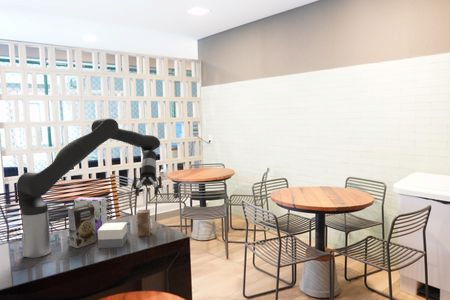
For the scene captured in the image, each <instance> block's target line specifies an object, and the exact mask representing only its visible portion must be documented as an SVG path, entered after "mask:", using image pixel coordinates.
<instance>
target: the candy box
mask: <svg viewBox="0 0 450 300" xmlns="http://www.w3.org/2000/svg"><path fill="white" fill-rule="evenodd" d="M85 205H88V206H93V207H94V213H95V231H96V235H98V231H97V230H98V229H99V228H100V227H101V226H102V225H103V224H104V223H108V213H107V198H106V197H87V196H85V197H83V196H79V197H77V198H75V199H73V208H76V207H80V206H85Z"/></svg>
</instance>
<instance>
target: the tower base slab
mask: <svg viewBox="0 0 450 300" xmlns="http://www.w3.org/2000/svg"><path fill="white" fill-rule="evenodd" d="M127 240H128V231H127V232H126V234H125V235H124V237H123V238H122V239H103V240H98V239H97V242H98V243H97V244H98V249H107V248H111V249H112V248H123V247H124V245H125V244H126V243H127Z"/></svg>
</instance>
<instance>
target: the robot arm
mask: <svg viewBox="0 0 450 300" xmlns="http://www.w3.org/2000/svg"><path fill="white" fill-rule="evenodd" d="M90 129H91V132H89V133H87V134H85V135H82V136H80V137H78V138H76V139H74V140H72V141H70V142H68V144H66V145H65V146H64V147H62V148H61V149H60V150H59V151H58V152H57V154H56V156H55V158H54V159H53V161H52V163H51V164H49V165H48V166H47V167H45V168H44V169H42V170H41V171H39V172H24V173H23V174H21V175H20V176H19V177H18V179H17V183H16V191H17V192H16V193H17V198H18V199H17V200H18V205H19V208H20V210H21V215H22V216H21V217H22V229H23V232H21V244H22V257H23V258H24V257H26V258H30V259H33V258H42V257H44V256H46V255H49V254H51V252H52V245H51V233H50V221H49V220H50V219H49V206H48V204H47V202H46V201H44V198H43V196H44V195H45V194H47V193H48V192H49V191H50V190H51V189H52V188H53V187H54V186H55V184H57V183H58V182H59V181H60V179H61V178H63V177H64V176H65V175H66V174H68V173H69V172H70V171H71V170H73V168H75V167H76V166H77V165H79V164H80V163H81V162H82V161H83V160H85V159H86V158H87V157H88V156H89V155H90V154H91V153H93V152H94V151H95V150H96V149H97V148H98V147H100V146H101V145H103V143H105V142H107V141H108V140H114V141H119V142H121V143H124V144H128V145H131V146H134V147H137V148H141V153H142V162H141V168H140V176H139V177H136V176H134V177H133V181H132V189H133V190H135V195H136V197H139V196H140V189H141V188H143V187H151V186H152V187H153V188H154V193H153V194H154V196H155V197H156V196H157V195H158V193H159V189H162V186H163V185H162V183H163V182H162V180H163V179H162V176H161V175H159V176H158V177H156V175H157V174H156V173H157V152H155V150H156V149H158V148H159V147H160V145H161V140H160V138H158V137H156V136H155V135H152V134H151V135H150V134H141V133H139V132H136V131H133V130H130V129H123V128H119V124H118V121H117V120H116V119H114V118H111V117H105V118H98V119H95V120H94V121H93V122H92V123H91V128H90ZM156 181H157V182H158V184H157V183H156ZM137 183H138V184H137Z"/></svg>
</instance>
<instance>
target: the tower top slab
mask: <svg viewBox="0 0 450 300" xmlns="http://www.w3.org/2000/svg"><path fill="white" fill-rule="evenodd" d="M97 231H98V234H97V241H98V240H103V239H122V238H123V237H124V235H125V234H126V232H127V233H128V222H125V221H124V222H107V223H104V224H103V225H102V226H101V227H100V228H99V229H98V230H97Z"/></svg>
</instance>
